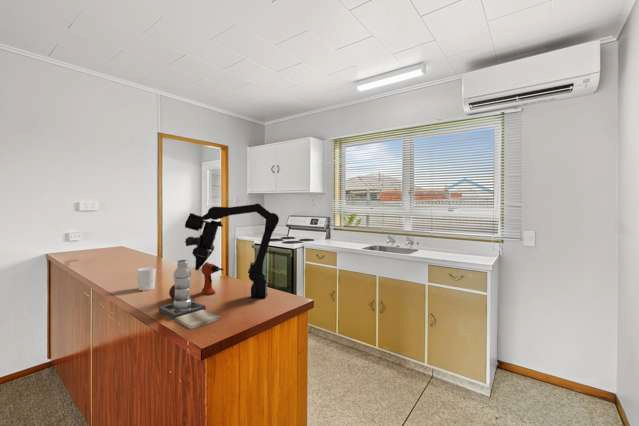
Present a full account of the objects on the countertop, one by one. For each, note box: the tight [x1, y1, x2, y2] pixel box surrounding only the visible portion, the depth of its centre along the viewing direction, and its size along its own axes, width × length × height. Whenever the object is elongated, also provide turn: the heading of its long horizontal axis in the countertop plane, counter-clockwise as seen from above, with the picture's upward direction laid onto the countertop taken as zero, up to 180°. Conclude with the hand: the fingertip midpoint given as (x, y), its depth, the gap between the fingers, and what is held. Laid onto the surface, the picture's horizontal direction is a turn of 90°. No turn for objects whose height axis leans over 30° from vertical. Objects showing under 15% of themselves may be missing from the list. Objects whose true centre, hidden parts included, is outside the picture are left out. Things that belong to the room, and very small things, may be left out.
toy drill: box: [201, 261, 224, 296], centre depth 138 cm, size 5×19×15 cm, turn 47°
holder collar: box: [158, 299, 207, 321], centre depth 117 cm, size 12×12×2 cm
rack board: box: [174, 310, 221, 330], centre depth 108 cm, size 11×11×1 cm
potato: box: [168, 284, 175, 300], centre depth 130 cm, size 8×12×8 cm, turn 53°
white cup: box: [136, 266, 157, 292], centre depth 147 cm, size 8×8×10 cm
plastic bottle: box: [172, 259, 192, 313], centre depth 117 cm, size 6×7×20 cm
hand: (198, 267), depth 132 cm, fingers open, 9 cm apart
